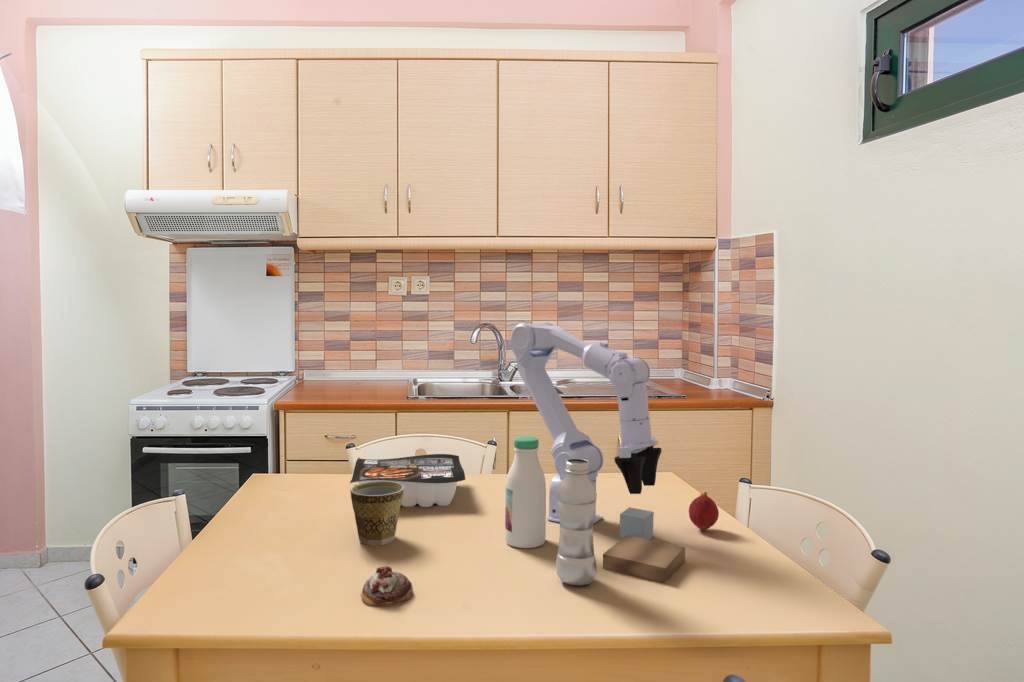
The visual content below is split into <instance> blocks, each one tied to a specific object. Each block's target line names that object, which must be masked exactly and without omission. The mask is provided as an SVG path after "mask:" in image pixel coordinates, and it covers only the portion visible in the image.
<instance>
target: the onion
mask: <svg viewBox="0 0 1024 682" xmlns="http://www.w3.org/2000/svg"><path fill="white" fill-rule="evenodd" d="M719 513H720V512H719V508H718V505H717V504H716V502H715V501H714V500H713V499H712V498H711V497H710V496H708V492H707V491H705V490H703V491H701V493H700V495H698V496H697V497H696V498H694V499H692V501H691V503H690V504H689V506H688V514H689V515H688V516H689V519H690V521H691V523H692V524H693V525H694V526H695V527H697V529H699V530H700V531H702V532H703V531H706V530H708V529H710V528H712V527H713V526H714V525H715V524H717V522H718V520H719V516H720V515H719Z"/></svg>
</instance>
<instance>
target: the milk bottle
mask: <svg viewBox="0 0 1024 682" xmlns="http://www.w3.org/2000/svg"><path fill="white" fill-rule="evenodd" d="M513 445H514V449H513V450H514V451H515V454H514V458H513V462H512V464H511V466H510V467H509V468H510V469H509V470H508V473H507V476H506V480H505V481H506V483H505V509H504V511H505V515H504V516H505V521H504V527H505V528H504V534H505V535H504V536H505V537H504V540H505V542H506V543H507V544H508V545H509V546H511V547H514V548H519V549H534V548H538V547H541V546H543V545H544V544H545V542H546V529H547V528H546V527H547V521H546V520H547V503H546V502H547V487H546V486H547V483H546V477H545V473H544V470H543V469H542V465H541V463H540V460H539V457H538V451H539V438H537V437H534V436H518V437H515V438H514V441H513Z"/></svg>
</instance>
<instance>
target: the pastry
mask: <svg viewBox="0 0 1024 682" xmlns="http://www.w3.org/2000/svg"><path fill="white" fill-rule="evenodd" d="M412 595H413V583H412V582H411V581H410V580H409V578H408V577H407V576H406V575H404V574H403V573H402V572H401V573H400V572H398V571H395V570H393V569H392V567H390V566H388V565H384V566H379V567H376V571H375V572H374V573H373V575H371V576H369V578H367V580H366V581H365V582H364V584H363V586H362V590H361V593H360V597H361V600H362V601H363V602H364V604H366V605H369V606H372V607H375V606H376V607H377V606H378V607H389V606H395V605H400V604H402V603H404V602H406V601H408V599H409V598H410V597H411V596H412Z"/></svg>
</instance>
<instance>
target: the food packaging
mask: <svg viewBox="0 0 1024 682" xmlns="http://www.w3.org/2000/svg"><path fill="white" fill-rule="evenodd" d="M373 481H389V482H396V483H399V484H401V485H403V487H404V490H403V497H402V502H401V506H402V507H405V508H410V507H415V506H416V505H417V504H418V505H419V506H420V507H422V508H427V507H428V508H429V507H430V508H431V507H433V505H434V504H436V505H438V506H441V507H442V506H449V505H450V504H451V502H452V500H453V498H454V496H455V494H456V491H457V484H458V482H462V481H466V475H465V470H464V468H463V466H462V464H461V461H460V456H459V455H456V454H451V453H450V454H449V453H435V454H434V453H433V454H421V455H412V456H404V457H398V458H397V457H396V458H385V459H384V458H381V459H380V458H379V459H371V458H370V459H366V458H357V460H356V461H355V464H354V469H353V474H352V477H351V479H350V482H349V484H352V483H357V482H358V484H361V483H366V482H373Z"/></svg>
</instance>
